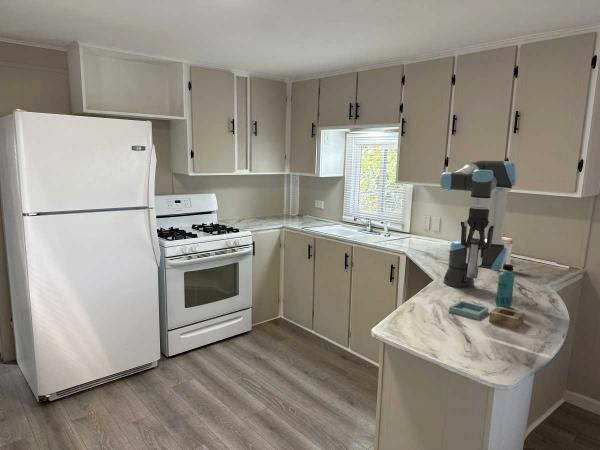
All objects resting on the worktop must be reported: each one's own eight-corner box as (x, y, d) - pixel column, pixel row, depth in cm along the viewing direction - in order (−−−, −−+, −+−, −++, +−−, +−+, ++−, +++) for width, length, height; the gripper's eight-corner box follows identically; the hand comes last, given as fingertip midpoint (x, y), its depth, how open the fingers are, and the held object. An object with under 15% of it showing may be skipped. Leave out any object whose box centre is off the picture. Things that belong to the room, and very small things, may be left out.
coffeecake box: (479, 266, 263) (483, 235, 260) (485, 264, 267) (488, 234, 264) (504, 272, 252) (508, 239, 249) (509, 270, 256) (513, 238, 253)
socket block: (488, 324, 170) (489, 312, 169) (497, 317, 177) (498, 306, 177) (515, 331, 163) (517, 319, 163) (523, 324, 171) (524, 312, 170)
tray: (448, 313, 180) (449, 307, 179) (460, 307, 189) (460, 300, 188) (477, 321, 172) (478, 314, 171) (487, 314, 181) (488, 307, 180)
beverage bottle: (497, 304, 194) (501, 261, 190) (512, 308, 189) (518, 264, 186) (492, 308, 188) (497, 264, 185) (509, 312, 184) (514, 267, 181)
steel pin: (464, 276, 177) (468, 238, 175) (468, 274, 181) (472, 237, 178) (475, 279, 174) (479, 240, 172) (480, 277, 178) (484, 239, 175)
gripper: (455, 206, 176) (449, 261, 180) (498, 210, 165) (491, 269, 168) (462, 205, 181) (457, 258, 185) (504, 209, 170) (498, 266, 174)
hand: (473, 263), depth 177 cm, fingers closed on steel pin, 4 cm apart
